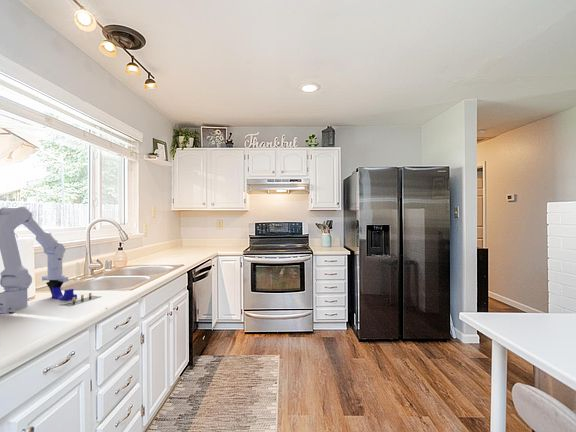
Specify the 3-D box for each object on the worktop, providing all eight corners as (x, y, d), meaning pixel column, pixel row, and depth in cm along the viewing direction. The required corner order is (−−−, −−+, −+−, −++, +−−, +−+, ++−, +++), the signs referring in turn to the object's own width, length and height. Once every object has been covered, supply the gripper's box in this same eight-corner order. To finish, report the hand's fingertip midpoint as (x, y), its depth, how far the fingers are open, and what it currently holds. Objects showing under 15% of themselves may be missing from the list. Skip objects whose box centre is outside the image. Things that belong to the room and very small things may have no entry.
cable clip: (76, 300, 144) (76, 288, 144) (66, 303, 140) (66, 290, 140) (62, 298, 149) (62, 285, 149) (51, 300, 145) (51, 287, 145)
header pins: (73, 303, 136) (73, 297, 136) (72, 303, 136) (72, 297, 136) (91, 298, 144) (91, 292, 144) (90, 298, 144) (90, 292, 144)
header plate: (70, 308, 131) (70, 305, 131) (58, 307, 133) (58, 304, 133) (102, 299, 147) (102, 296, 147) (91, 298, 149) (91, 295, 149)
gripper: (74, 267, 150) (74, 294, 150) (52, 266, 154) (52, 292, 154) (60, 269, 144) (60, 298, 144) (37, 268, 148) (37, 296, 148)
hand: (55, 295), depth 149 cm, fingers closed
